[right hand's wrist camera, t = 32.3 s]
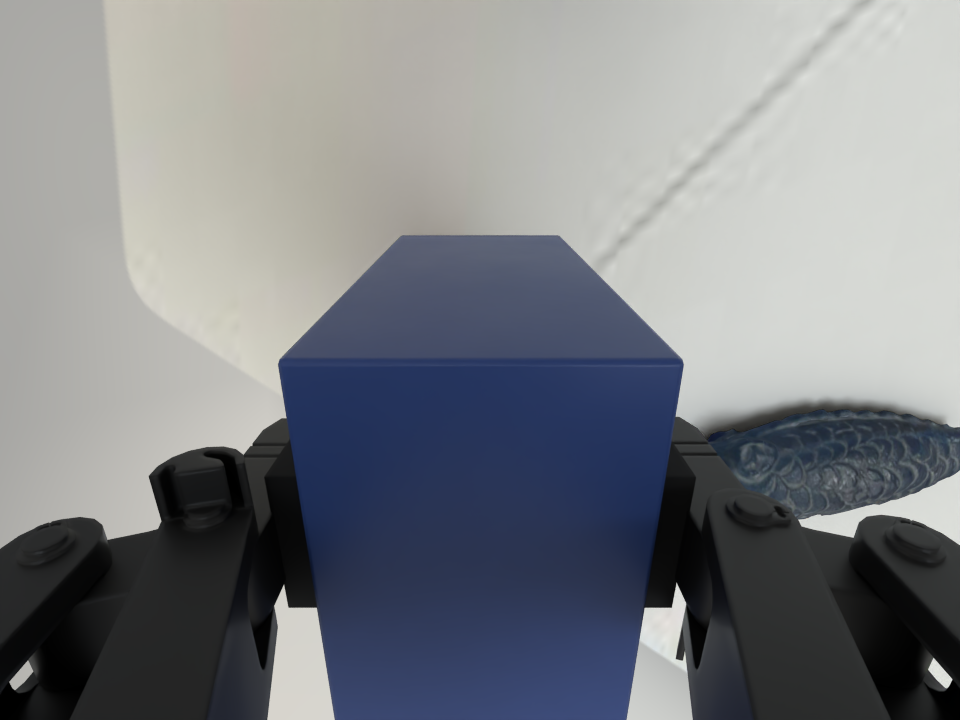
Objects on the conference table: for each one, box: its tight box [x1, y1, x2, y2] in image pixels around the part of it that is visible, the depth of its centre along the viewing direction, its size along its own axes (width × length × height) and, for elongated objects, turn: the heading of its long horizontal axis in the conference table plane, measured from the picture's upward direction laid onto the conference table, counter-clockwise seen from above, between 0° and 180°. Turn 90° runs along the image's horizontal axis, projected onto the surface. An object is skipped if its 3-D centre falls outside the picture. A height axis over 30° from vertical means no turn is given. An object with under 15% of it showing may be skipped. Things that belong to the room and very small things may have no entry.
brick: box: [278, 235, 684, 720], centre depth 13 cm, size 5×7×11 cm
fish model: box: [707, 410, 960, 519], centre depth 32 cm, size 7×21×5 cm, turn 95°
